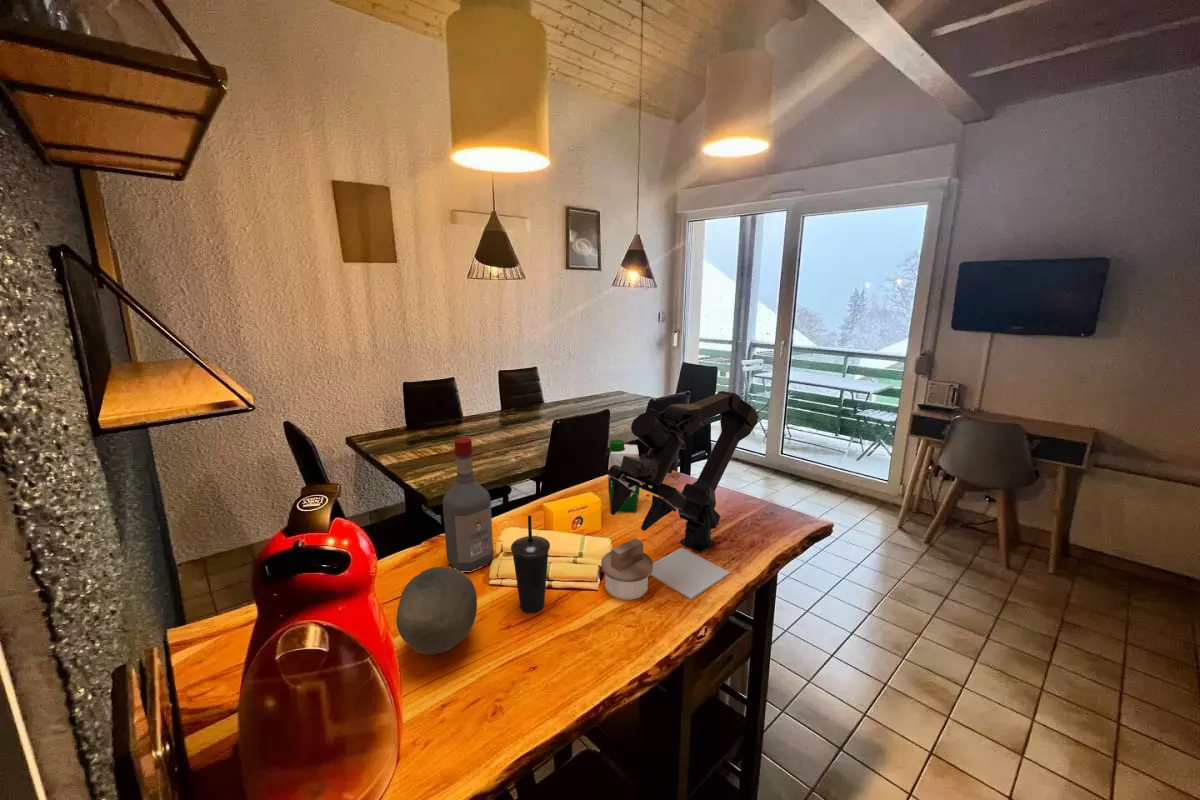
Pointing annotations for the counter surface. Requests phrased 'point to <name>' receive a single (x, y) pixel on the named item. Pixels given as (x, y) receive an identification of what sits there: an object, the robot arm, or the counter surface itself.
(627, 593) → the bowl
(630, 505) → the milk carton
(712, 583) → the mat
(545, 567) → the drinking cup
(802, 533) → the counter surface
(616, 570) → the lid
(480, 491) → the liquor
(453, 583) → the dark grey round stone
